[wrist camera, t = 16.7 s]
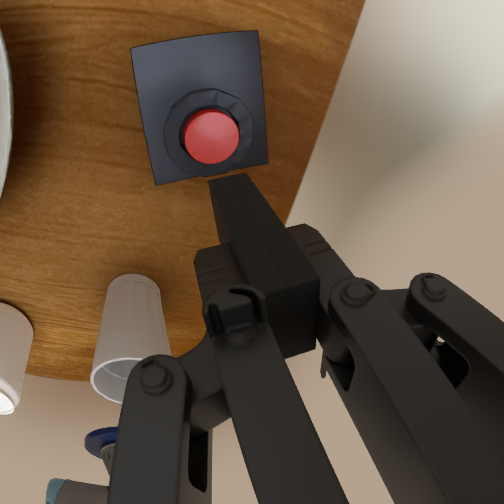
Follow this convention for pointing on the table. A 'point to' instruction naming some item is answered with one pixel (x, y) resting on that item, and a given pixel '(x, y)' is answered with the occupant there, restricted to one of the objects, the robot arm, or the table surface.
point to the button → (210, 136)
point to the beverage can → (13, 355)
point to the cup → (127, 333)
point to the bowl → (5, 112)
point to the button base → (200, 99)
